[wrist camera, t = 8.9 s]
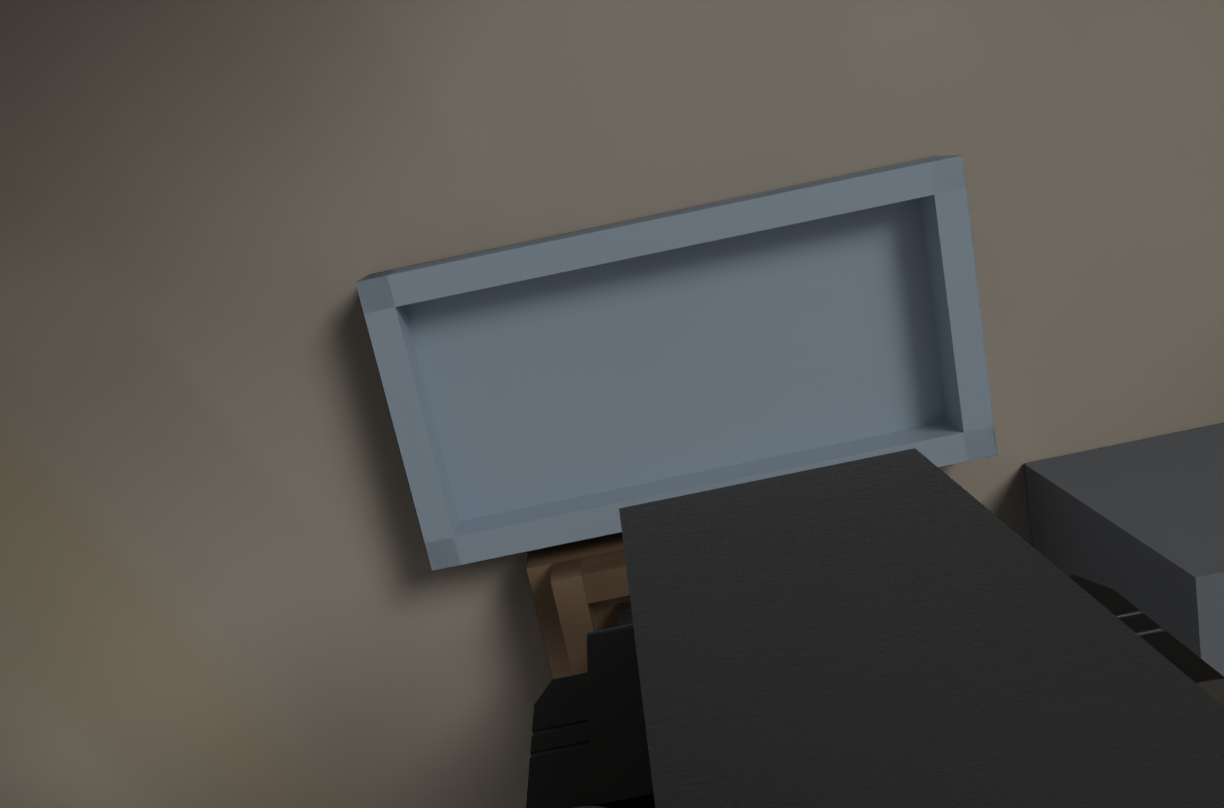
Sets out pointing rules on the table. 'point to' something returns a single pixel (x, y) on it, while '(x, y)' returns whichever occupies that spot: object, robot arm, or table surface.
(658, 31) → the table surface
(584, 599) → the tray
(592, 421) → the tray
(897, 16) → the table surface
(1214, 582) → the grey cube holder
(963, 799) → the block
